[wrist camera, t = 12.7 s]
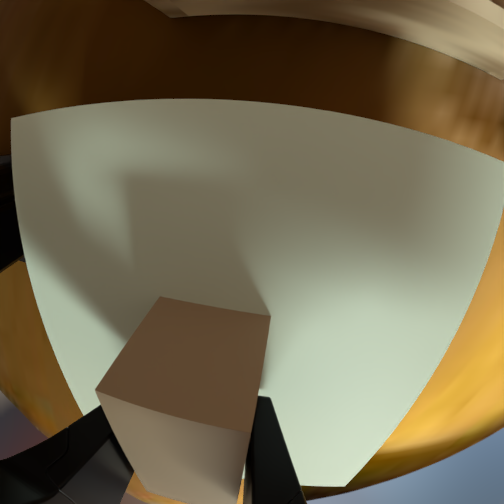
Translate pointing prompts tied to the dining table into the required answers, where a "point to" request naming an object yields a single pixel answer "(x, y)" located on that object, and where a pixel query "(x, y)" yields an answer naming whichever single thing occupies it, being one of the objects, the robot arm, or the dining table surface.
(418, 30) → the beige rectangular tray
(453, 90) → the dining table surface
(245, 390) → the lid
